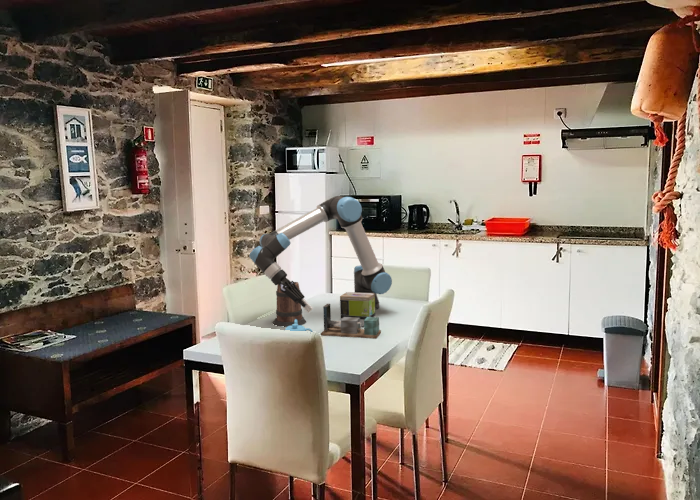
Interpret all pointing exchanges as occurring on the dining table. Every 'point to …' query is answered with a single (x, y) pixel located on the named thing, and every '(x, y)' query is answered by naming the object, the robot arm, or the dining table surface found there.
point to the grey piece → (330, 323)
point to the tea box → (357, 305)
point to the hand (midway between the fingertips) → (310, 310)
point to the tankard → (287, 310)
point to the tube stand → (355, 328)
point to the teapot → (297, 327)
